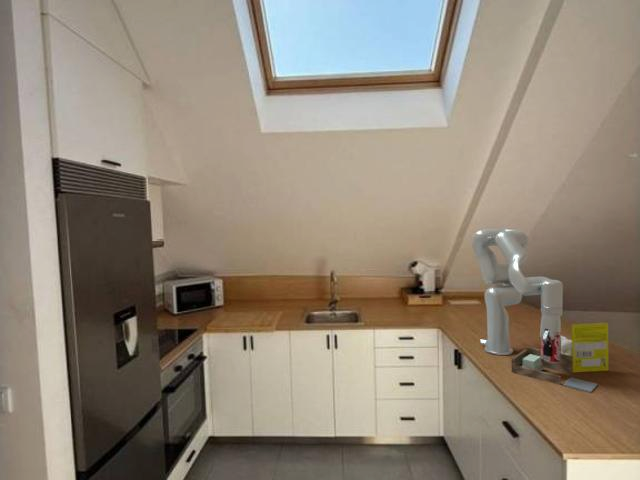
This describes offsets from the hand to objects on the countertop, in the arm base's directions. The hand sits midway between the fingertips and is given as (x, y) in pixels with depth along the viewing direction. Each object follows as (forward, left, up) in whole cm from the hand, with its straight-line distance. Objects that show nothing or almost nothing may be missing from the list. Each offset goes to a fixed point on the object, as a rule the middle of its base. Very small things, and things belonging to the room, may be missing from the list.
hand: (550, 352), depth 156 cm
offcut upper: (-7, -1, -6) cm, 9 cm away
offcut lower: (-7, -1, -9) cm, 12 cm away
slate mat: (+11, -4, -9) cm, 15 cm away
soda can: (0, 0, -3) cm, 3 cm away
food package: (+10, +14, -9) cm, 19 cm away
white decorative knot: (-2, +25, -9) cm, 26 cm away
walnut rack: (-3, 0, -9) cm, 10 cm away
